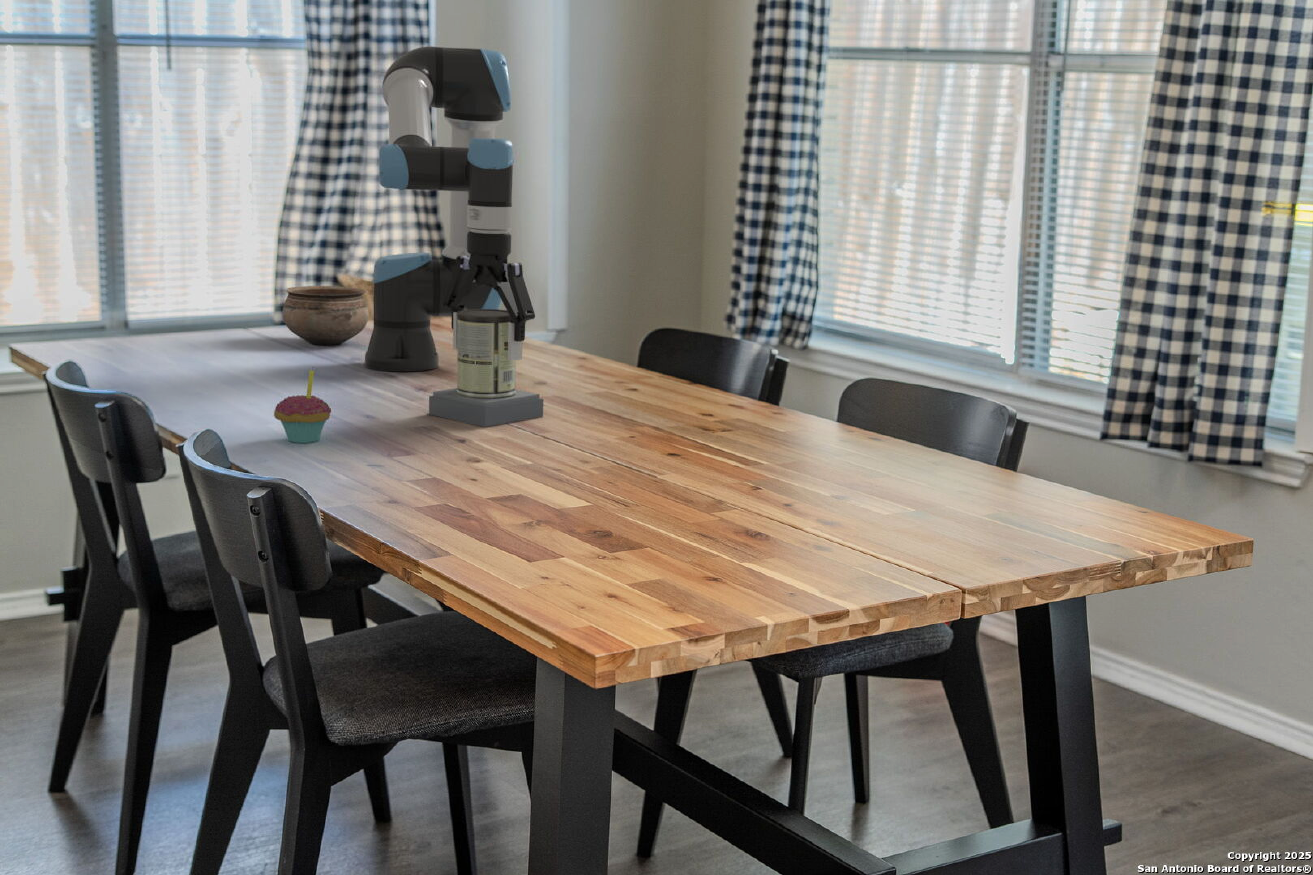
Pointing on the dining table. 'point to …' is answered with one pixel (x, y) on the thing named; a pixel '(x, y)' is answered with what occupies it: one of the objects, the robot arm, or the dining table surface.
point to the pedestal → (485, 407)
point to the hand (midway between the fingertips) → (487, 354)
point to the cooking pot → (325, 313)
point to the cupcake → (303, 415)
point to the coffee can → (484, 354)
